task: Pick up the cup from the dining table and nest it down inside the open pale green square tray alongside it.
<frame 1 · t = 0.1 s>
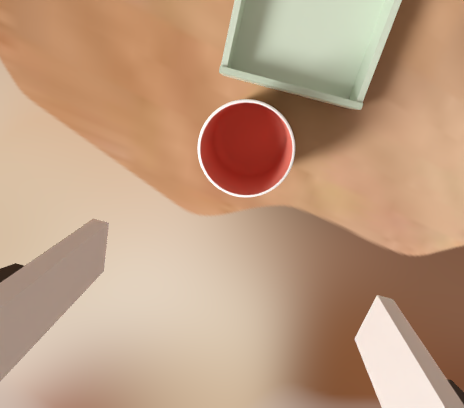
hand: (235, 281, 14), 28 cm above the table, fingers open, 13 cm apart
cup: (249, 139, 39), on the table
pale green square tray: (308, 19, 34), on the table
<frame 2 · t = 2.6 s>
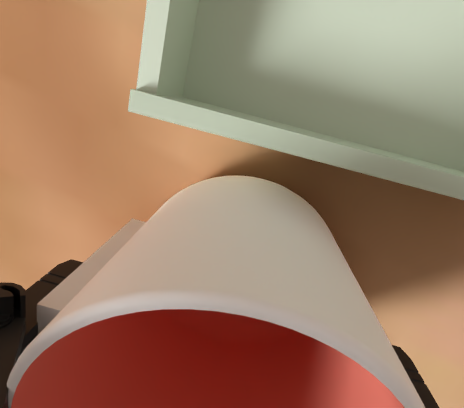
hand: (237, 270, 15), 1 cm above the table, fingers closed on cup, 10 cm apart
cup: (239, 256, 16), on the table, touching gripper
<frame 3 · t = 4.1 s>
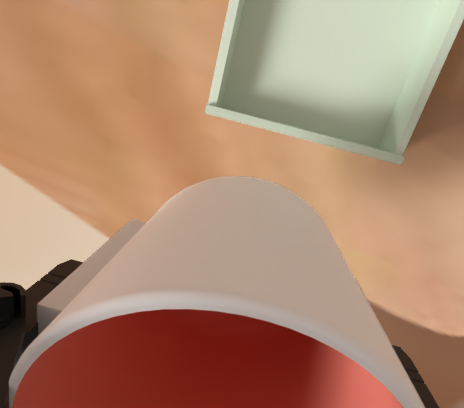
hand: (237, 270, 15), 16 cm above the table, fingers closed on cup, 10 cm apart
cup: (239, 256, 16), point 14 cm above the table, touching gripper
pale green square tray: (326, 40, 25), on the table
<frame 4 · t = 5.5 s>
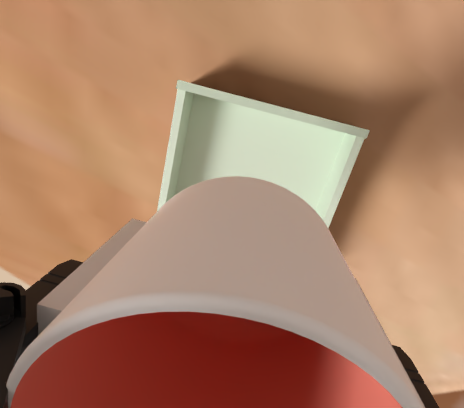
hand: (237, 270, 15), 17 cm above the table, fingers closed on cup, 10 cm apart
cup: (239, 256, 16), point 16 cm above the table, touching gripper
pale green square tray: (249, 183, 31), on the table
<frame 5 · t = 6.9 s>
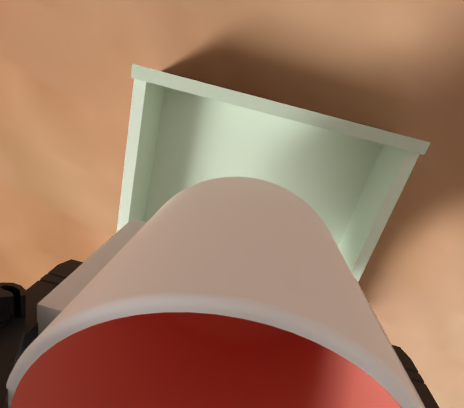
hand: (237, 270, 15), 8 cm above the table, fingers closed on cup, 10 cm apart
cup: (238, 256, 16), point 7 cm above the table, touching gripper
pale green square tray: (245, 211, 22), on the table
when the fingers open (4 cm above the table, at t = 8.3 s): cup drops 2 cm, resting on pale green square tray.
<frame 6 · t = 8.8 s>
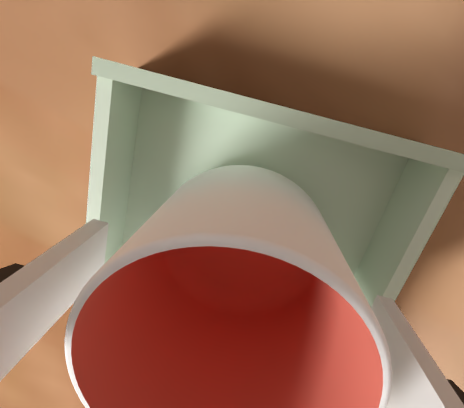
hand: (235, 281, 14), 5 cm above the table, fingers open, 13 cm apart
cup: (241, 237, 18), resting on pale green square tray
pale green square tray: (242, 235, 19), on the table
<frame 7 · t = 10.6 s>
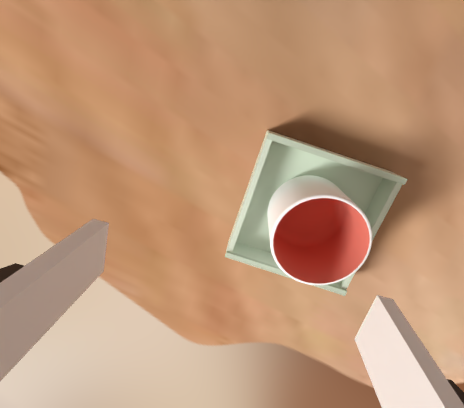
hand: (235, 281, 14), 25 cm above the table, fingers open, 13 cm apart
cup: (304, 209, 38), resting on pale green square tray
pale green square tray: (304, 208, 39), on the table
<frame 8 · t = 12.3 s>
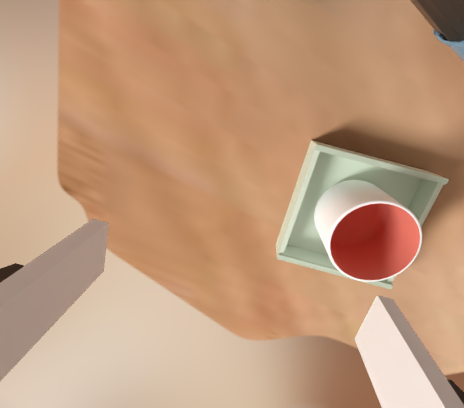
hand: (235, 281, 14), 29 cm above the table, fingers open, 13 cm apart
cup: (347, 211, 41), resting on pale green square tray
pale green square tray: (347, 210, 42), on the table
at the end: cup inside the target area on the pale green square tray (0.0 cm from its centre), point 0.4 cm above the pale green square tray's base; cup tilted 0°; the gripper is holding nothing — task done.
